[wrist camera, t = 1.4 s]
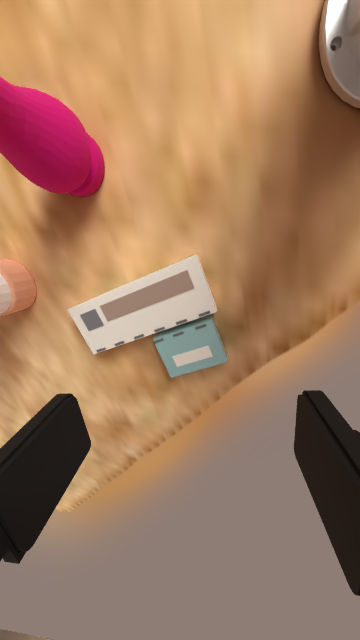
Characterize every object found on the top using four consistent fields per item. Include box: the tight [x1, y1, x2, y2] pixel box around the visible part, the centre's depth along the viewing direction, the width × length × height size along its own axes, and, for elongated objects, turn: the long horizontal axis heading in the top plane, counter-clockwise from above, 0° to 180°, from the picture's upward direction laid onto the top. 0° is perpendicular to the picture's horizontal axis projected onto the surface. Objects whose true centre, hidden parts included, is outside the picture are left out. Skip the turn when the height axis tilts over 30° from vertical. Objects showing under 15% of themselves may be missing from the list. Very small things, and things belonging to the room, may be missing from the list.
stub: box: [153, 314, 228, 378], centre depth 28 cm, size 8×6×3 cm
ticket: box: [67, 254, 217, 355], centre depth 27 cm, size 18×7×3 cm, turn 112°
